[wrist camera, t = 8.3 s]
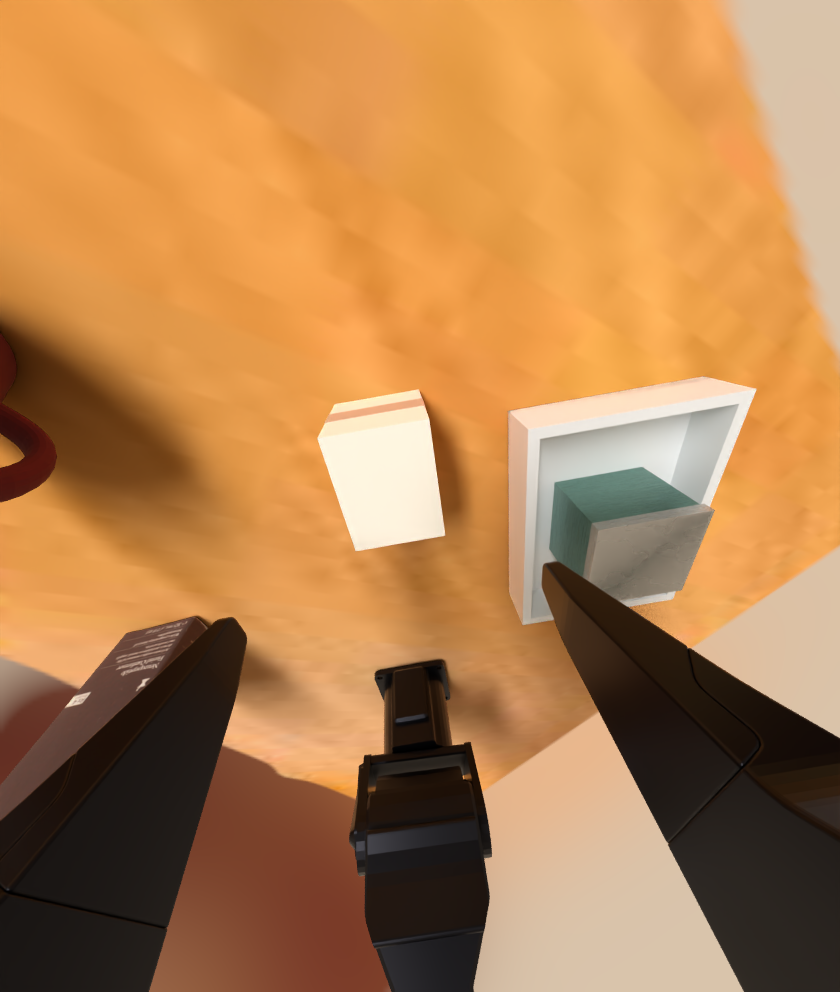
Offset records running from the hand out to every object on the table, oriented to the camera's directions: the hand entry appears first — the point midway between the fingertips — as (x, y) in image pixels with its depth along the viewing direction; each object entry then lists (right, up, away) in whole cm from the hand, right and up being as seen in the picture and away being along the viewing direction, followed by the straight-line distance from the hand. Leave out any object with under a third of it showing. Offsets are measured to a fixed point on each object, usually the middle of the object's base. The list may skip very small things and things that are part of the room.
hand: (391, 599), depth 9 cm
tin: (+12, +2, +12) cm, 17 cm away
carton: (-1, +6, +9) cm, 11 cm away
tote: (+12, +2, +12) cm, 18 cm away
